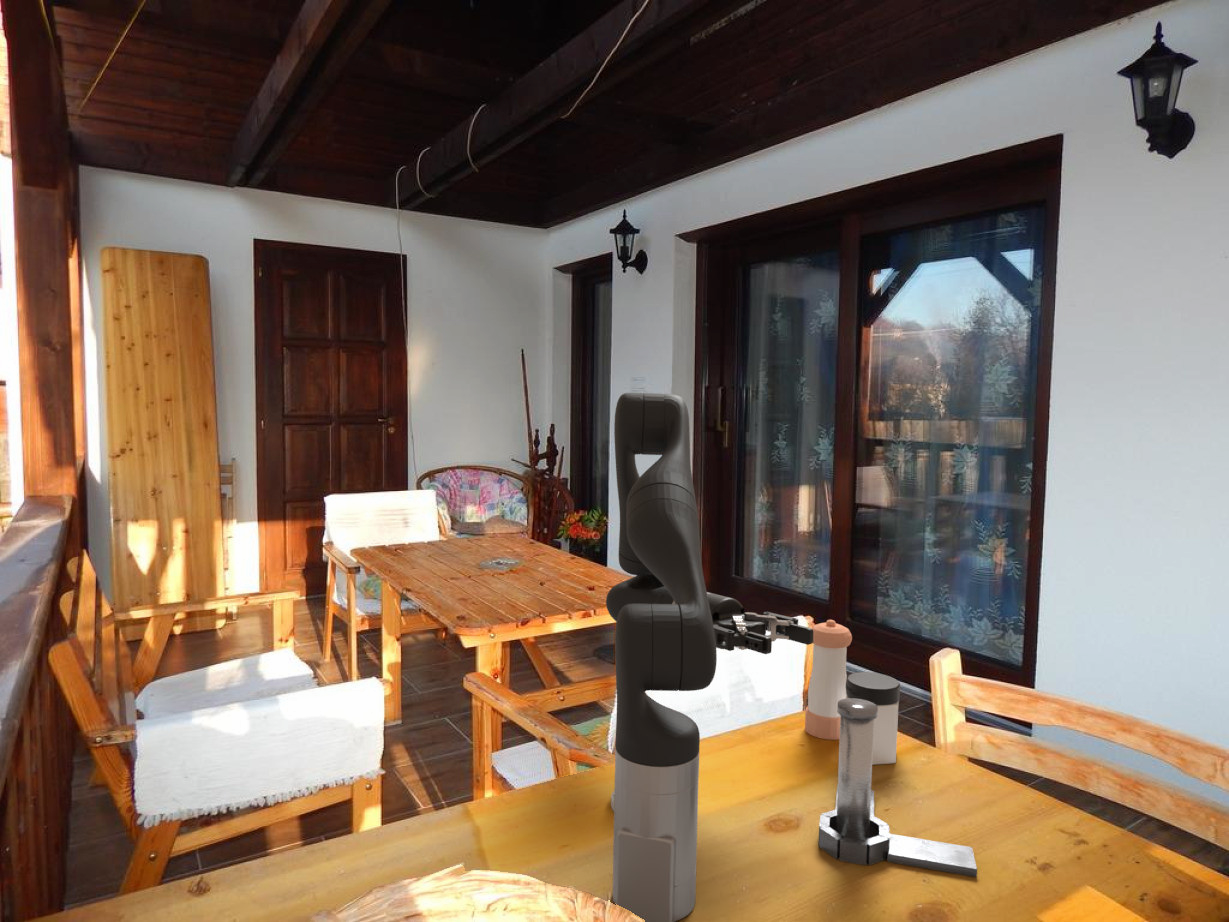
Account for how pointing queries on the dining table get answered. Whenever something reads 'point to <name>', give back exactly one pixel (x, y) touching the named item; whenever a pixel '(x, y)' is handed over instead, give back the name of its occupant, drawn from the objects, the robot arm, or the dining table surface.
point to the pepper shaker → (827, 679)
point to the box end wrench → (893, 847)
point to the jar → (879, 710)
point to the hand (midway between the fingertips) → (791, 641)
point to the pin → (855, 767)
